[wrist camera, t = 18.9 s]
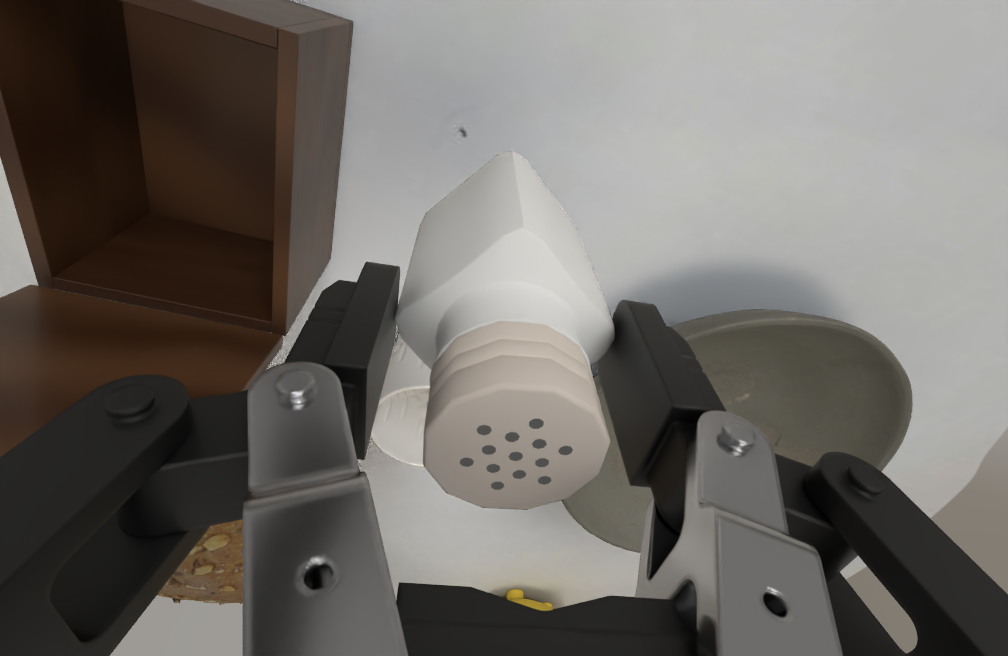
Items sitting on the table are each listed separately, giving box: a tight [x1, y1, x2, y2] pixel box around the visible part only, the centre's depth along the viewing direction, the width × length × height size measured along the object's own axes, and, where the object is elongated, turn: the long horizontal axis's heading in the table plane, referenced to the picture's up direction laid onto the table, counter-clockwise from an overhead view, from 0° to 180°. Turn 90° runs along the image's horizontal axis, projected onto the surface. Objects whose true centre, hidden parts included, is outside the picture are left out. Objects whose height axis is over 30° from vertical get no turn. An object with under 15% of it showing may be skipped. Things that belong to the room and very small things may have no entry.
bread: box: [157, 519, 243, 605], centre depth 43 cm, size 24×21×12 cm
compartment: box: [0, 0, 353, 336], centre depth 26 cm, size 16×13×10 cm
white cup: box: [371, 332, 431, 467], centre depth 36 cm, size 8×8×10 cm
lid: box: [0, 285, 283, 457], centre depth 20 cm, size 16×13×6 cm
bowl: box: [562, 309, 912, 553], centre depth 42 cm, size 27×28×8 cm
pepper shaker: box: [395, 151, 615, 510], centre depth 12 cm, size 4×4×10 cm
